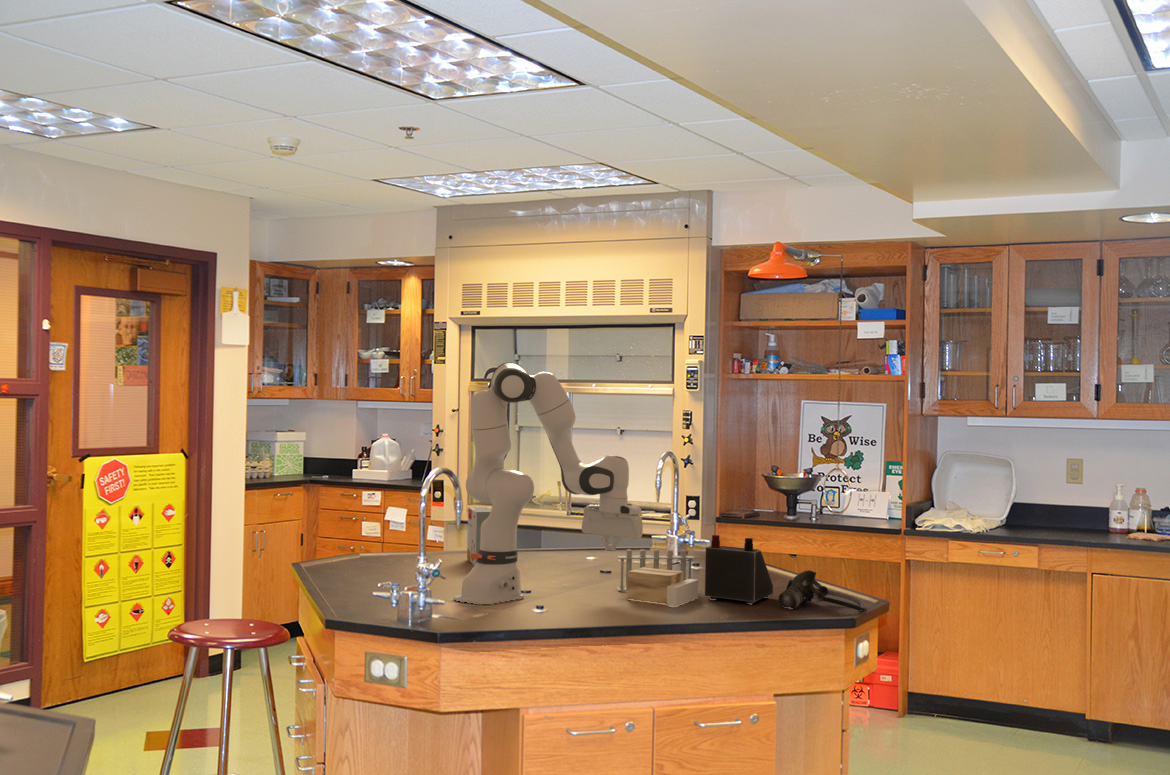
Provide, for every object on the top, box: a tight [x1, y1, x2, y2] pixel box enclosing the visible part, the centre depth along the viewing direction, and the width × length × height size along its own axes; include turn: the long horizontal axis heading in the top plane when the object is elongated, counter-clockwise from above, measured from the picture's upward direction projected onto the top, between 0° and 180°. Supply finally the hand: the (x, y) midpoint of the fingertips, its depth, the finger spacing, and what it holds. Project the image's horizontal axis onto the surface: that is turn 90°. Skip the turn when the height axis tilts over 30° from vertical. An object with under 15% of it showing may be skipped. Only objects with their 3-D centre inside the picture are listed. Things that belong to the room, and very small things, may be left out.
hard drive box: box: [466, 506, 491, 567], centre depth 381 cm, size 16×8×20 cm, turn 17°
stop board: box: [666, 578, 699, 606], centre depth 311 cm, size 16×3×6 cm, turn 150°
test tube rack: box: [615, 549, 696, 592], centre depth 331 cm, size 25×4×13 cm, turn 97°
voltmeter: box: [704, 534, 774, 603], centre depth 319 cm, size 16×16×20 cm
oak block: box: [627, 566, 684, 604], centre depth 314 cm, size 10×14×9 cm
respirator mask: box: [778, 569, 865, 612], centre depth 309 cm, size 20×22×15 cm
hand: (610, 550), depth 323 cm, fingers closed
